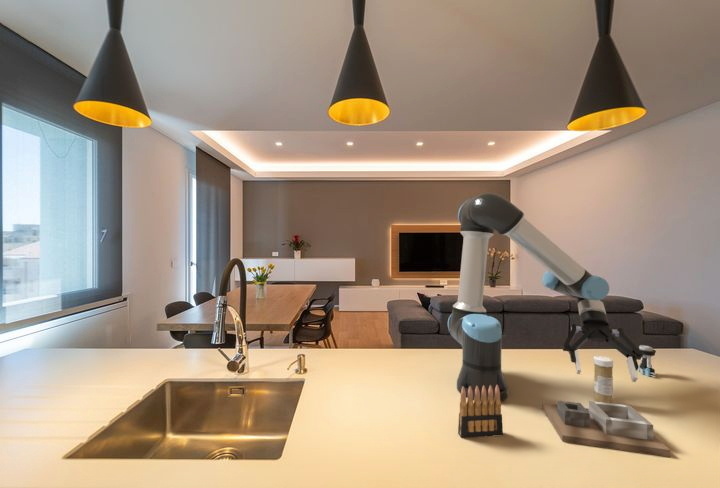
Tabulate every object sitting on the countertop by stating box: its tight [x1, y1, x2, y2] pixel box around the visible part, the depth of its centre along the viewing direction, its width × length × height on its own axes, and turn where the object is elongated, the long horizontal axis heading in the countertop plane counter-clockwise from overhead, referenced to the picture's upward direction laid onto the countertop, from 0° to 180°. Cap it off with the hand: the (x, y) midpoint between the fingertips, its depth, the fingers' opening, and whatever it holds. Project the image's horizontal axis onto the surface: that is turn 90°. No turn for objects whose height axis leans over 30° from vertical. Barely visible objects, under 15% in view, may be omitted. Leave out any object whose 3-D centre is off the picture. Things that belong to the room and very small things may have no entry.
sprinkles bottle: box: [593, 355, 614, 404], centre depth 94 cm, size 5×5×14 cm
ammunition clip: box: [457, 385, 504, 439], centre depth 78 cm, size 11×2×12 cm, turn 96°
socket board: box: [541, 400, 671, 458], centre depth 80 cm, size 21×16×5 cm
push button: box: [636, 344, 657, 378], centre depth 115 cm, size 7×5×10 cm
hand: (606, 376), depth 94 cm, fingers open, 13 cm apart
